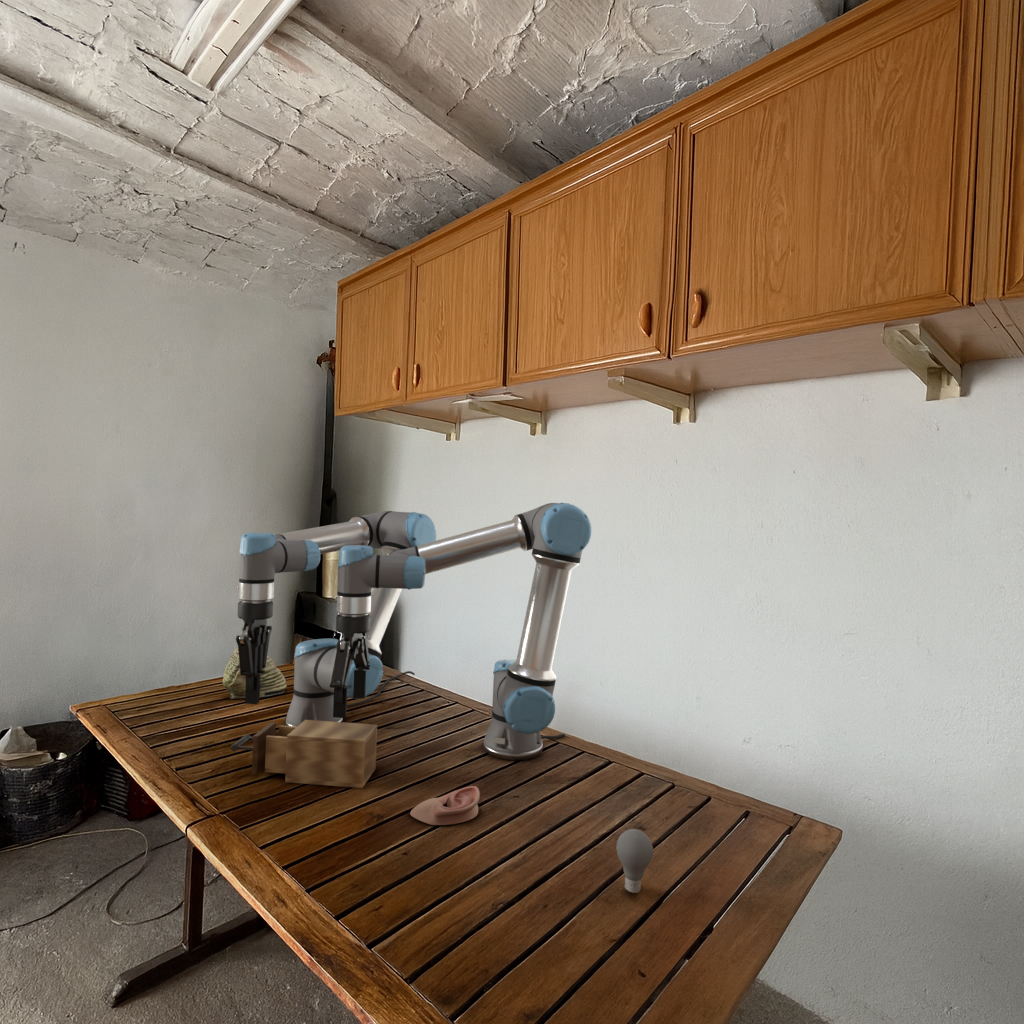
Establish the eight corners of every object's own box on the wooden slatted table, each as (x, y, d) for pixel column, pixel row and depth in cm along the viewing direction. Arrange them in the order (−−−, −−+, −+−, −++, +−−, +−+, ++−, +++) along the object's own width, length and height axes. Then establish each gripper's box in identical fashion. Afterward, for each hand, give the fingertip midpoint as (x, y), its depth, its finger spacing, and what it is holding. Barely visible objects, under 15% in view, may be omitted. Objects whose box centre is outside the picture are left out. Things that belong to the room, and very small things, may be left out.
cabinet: (285, 782, 140) (287, 735, 140) (303, 763, 150) (305, 719, 150) (362, 788, 138) (364, 740, 138) (375, 768, 148) (377, 724, 148)
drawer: (227, 772, 141) (228, 734, 141) (246, 756, 150) (247, 720, 150) (322, 779, 140) (324, 741, 140) (336, 763, 149) (338, 726, 148)
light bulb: (610, 879, 108) (613, 822, 108) (644, 879, 109) (647, 822, 109) (619, 902, 102) (622, 840, 102) (655, 901, 103) (658, 840, 103)
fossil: (218, 695, 195) (220, 647, 195) (278, 685, 208) (279, 640, 207) (228, 703, 189) (230, 653, 188) (289, 692, 201) (290, 645, 201)
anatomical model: (405, 801, 125) (424, 776, 136) (404, 821, 125) (423, 795, 136) (470, 810, 122) (484, 785, 133) (469, 831, 122) (483, 803, 133)
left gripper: (253, 595, 151) (250, 693, 152) (225, 604, 138) (221, 711, 139) (284, 597, 151) (280, 695, 151) (258, 606, 138) (254, 713, 138)
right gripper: (354, 604, 156) (351, 689, 156) (316, 623, 131) (312, 725, 131) (384, 605, 155) (381, 691, 156) (351, 625, 130) (347, 727, 131)
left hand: (252, 702), depth 145 cm, fingers closed
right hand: (349, 707), depth 144 cm, fingers open, 13 cm apart
